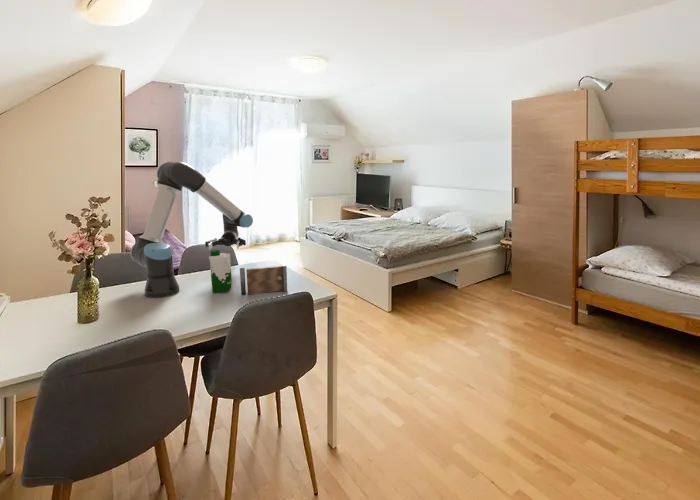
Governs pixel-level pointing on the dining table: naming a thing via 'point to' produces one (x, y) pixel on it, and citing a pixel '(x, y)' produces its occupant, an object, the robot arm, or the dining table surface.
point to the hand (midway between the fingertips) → (223, 246)
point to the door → (264, 279)
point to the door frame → (243, 285)
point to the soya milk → (220, 271)
